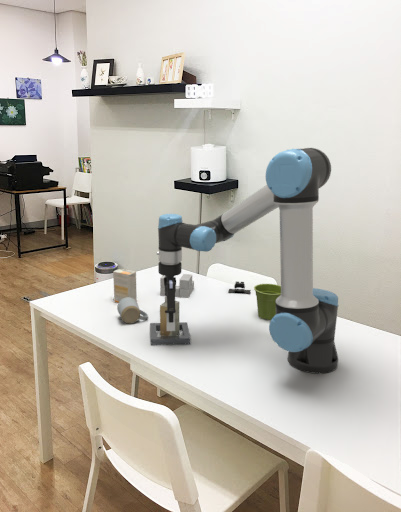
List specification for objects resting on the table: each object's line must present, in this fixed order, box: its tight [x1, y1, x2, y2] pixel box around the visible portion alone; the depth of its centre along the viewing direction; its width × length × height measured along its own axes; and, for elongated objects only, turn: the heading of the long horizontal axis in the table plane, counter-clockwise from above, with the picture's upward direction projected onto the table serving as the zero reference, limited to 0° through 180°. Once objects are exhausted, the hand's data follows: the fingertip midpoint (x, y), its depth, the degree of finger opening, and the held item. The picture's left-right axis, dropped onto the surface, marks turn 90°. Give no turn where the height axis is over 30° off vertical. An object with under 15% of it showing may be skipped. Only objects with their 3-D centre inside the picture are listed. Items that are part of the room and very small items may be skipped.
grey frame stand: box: [149, 321, 192, 346], centre depth 175 cm, size 31×13×2 cm, turn 6°
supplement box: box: [112, 268, 138, 304], centre depth 194 cm, size 8×5×13 cm, turn 58°
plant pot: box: [253, 283, 281, 321], centre depth 183 cm, size 12×12×11 cm
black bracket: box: [228, 280, 252, 295], centre depth 211 cm, size 12×7×5 cm, turn 83°
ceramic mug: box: [116, 297, 149, 324], centre depth 178 cm, size 11×8×8 cm
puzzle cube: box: [159, 273, 195, 299], centre depth 208 cm, size 12×12×8 cm
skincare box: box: [159, 300, 180, 336], centre depth 164 cm, size 6×4×12 cm
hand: (169, 322), depth 165 cm, fingers open, 13 cm apart
